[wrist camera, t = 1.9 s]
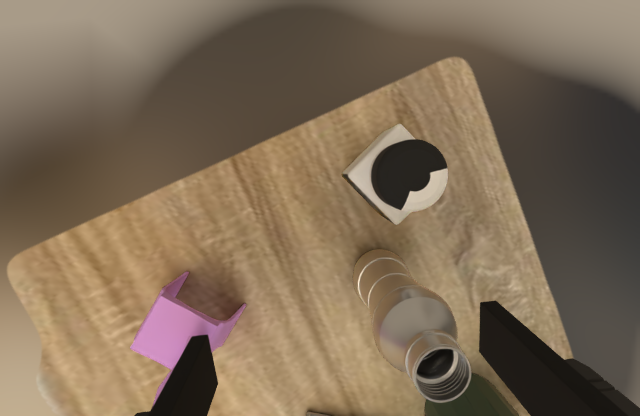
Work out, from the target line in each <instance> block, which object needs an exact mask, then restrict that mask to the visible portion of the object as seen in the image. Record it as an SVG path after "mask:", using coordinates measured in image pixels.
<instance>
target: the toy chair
mask: <svg viewBox="0 0 640 416" xmlns="http://www.w3.org/2000/svg"><path fill="white" fill-rule="evenodd" d="M188 274H189V272H188V271H186V272H185V273H183V274H182V275H181V276H179V277H178V278H176V279H175V280H174V281H172V282H171V283H169V284H168V285H166V286H164V287H163V288H162V290H161V292H160V293H159V295H158V297H157V299H156V300H155V302H154V304H153V306H152V307H151V309H150V311H149V313H148V314H147V316H146V318H145V320H144V321H143V323H142V325H141V327H140V328H139V330H138V332H137V334H136V336H135V338H134V342H133V344H132V346H131V348H130V349H132V350H134V351H136V352H138V353H140V354H142V355H144V356H146V357H148V358H150V359H153V360H155V361H157V362H158V363H160V364H162V365H164V366H166V367H168V368H169V369H171V371H170V372H169V374H168V375H167V376H166V378H165V379H164V380H163V382H162V383H161V384H160V386H159V387H158V390H157V393H156V397H155V400H154V403H153V406H154V404H155V402H156V400H157V398H158V397H159V395H160V393H161V391H162V389H163V387H164V386H165V384H166V382H167V380H168V378H169V377H170V375H171V373H172V371H173V369H174V367H175V366H176V364H177V362H178V360H179V358H180V357H181V355H182V353H183V351H184V349H185V348H186V346H187V344H188V342H189V340H190V338H191V337H192V336H198V335H207V334H208V337H209V342H210V347H211V352H213V351H214V350H215V349H217V348H218V347H221V346H222V345H223V343H224V342H225V340H226V338H227V337H228V335H229V333H230V332H231V330H232V328H233V327H234V325H235V323H236V322H237V320H238V318H239V317H240V315H241V313H242V312H243V310H244V308H245V307H246V305H247V304H245V303H244V304H243V305H242V306H241V307H240V308H239V309H238V311H237V312H236V313H235V314H234V315H233V316H232V317H231V318H229V319H228V320H224V321H220V320H216V319H214V318H211V317H209V316H207V315H205V314H203V313H201V312H199V311H197V310H195V309H193V308H191V307H190V306H188V305H186V304H185V303H183V302H181V301H180V300H178V299H176V298H175V297H176V295H177V293H178V292H179V290H180V288H181V287H182V285H183V283H184V281H185V280H186V278H187V276H188ZM153 406H152V407H153Z"/></svg>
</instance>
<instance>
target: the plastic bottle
mask: <svg viewBox="0 0 640 416" xmlns="http://www.w3.org/2000/svg"><path fill="white" fill-rule="evenodd" d="M353 285H354V289H355V291H356V293H357V295H358V296H359V297H360V299H361V300H362V301H363V302H364V303H365V304H366V305H367V307H368V308H369V311H370V314H371V319H372V328H373V334H374V339H375V342H376V346H377V348H378V350H379V352H380V353H381V355H382V356H383V357H384V358H385V359H386V360H387V361H388V362H389V363H390V364H391V365H392V366H394V367H395V368H397V369H398V370H400V371H403V372H406V373H408V375H409V377H410V378H411V380H412V381H413V382H414V385H415V387H416V389H417V390H418V391H419V392H420V394H421V395H422V396H423V397H425V398H426V399H428V400H430V401H433V402H438V403H443V402H449V401H452V400H454V399H456V398H458V397H459V396H460V395H461V394H462V393H463V392H464V391H465V390H466V388H467V387H468V385H469V383H470V379H471V366H470V363H469V361H468V359H467V357H466V355H465V354H464V353H463V351H462V350H461V348H460V346H459V344H458V343H457V342H456V341H457V326H456V321H455V318H454V316H453V313H452V311H451V309H450V307H449V306H448V304H447V303H446V302H445V301H444V300H443V299H442V298H441V297H440V296H438V295H437V294H436V293H434V292H433V291H431V290H429V289H427V288H426V287H424V286H422V285H420V284H419V283H418V282H416V281H415V280H414V279H413V278H412V277H411V275H410V273H409V270H408V268H407V266H406V264H405V263H404V261H403V260H402V259H401V258H400V257H399V256H398V255H396V254H395V253H393V252H390V251H387V250H383V249H375V250H371V251H369V252H367V253H365V254H364V255H362V256H361V257H360V259H359V260H358V261H357V263H356V265H355V267H354V272H353Z"/></svg>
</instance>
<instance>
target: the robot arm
mask: <svg viewBox="0 0 640 416" xmlns="http://www.w3.org/2000/svg"><path fill="white" fill-rule="evenodd" d="M479 352H480V353H481V355H482V356H483V357H484V358H485V360H486V361H487V362H488V363H489V364H490V366H491V367H492V368H493V369H494V371H495V372H496V373H497V374H498V376H499V377H500V378H501V379H502V381H503V382H504V383H505V384H506V385H507V387H508V388H509V389H510V390H511V392H512V393H513V394H514V395H515V397H516V398H517V399H518V400H519V402H520V403H521V404H522V405H523V407H524V408H525V409H526V410H527V411H528V413H529V414H530V415H531V416H640V408H639V407H638V406H636V405H635V404H634V403H633V402H631V401H630V400H629V399H628V398H627V397H625V396H624V395H623V394H622V393H620V392H619V391H618V390H615V388H614V387H613V386H612V385H611V384H609V383H608V382H607V381H604V380H603V378H602V377H601V376H600V375H598V374H597V373H596V372H595V371H593V370H592V369H591V368H590V367H588V366H586V365H584V364H582V363H580V362H578V361H577V360H575V359H566V360H564V359H562V358H561V357H560V356H559V355H558V354H557V353H556V352H554V351H553V350H552V349H551V348H550V347H549V346H547V345H546V344H545V343H544V342H543V341H542V340H541V339H539V338H538V337H537V336H536V335H535V334H534V333H532V332H531V331H530V330H529V329H528V328H527V327H526V326H524V325H523V324H522V323H521V322H520V321H519V320H517V319H516V318H515V317H514V316H513V315H512V314H511V313H509V312H508V311H507V310H506V309H505V308H504V307H502V306H501V305H500V304H499V303H498V302H497V301H489V302H481V303H480V341H479ZM217 385H218V381H217V376H216V371H215V366H214V361H213V356H212V352H211V347H210V342H209V337H208V334H207V335H198V336H192V337H191V338H190V340H189V342H188V344H187V346H186V348H185V349H184V351H183V353H182V355H181V357H180V358H179V360H178V362H177V364H176V366H175V367H174V369H173V371H172V373H171V375H170V377H169V378H168V380H167V382H166V384H165V386H164V387H163V389H162V391H161V393H160V395H159V397H158V398H157V400H156V402H155V404H154V406H153V407H152V409H151V411H149V412H141V413H137V414H136V415H135V416H207V414H208V411H209V408H210V405H211V402H212V399H213V397H214V394H215V391H216V388H217Z"/></svg>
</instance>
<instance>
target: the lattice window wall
mask: <svg viewBox="0 0 640 416" xmlns="http://www.w3.org/2000/svg"><path fill="white" fill-rule="evenodd" d="M306 416H329V415H324V414H318V413H312V412H307V415H306Z"/></svg>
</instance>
